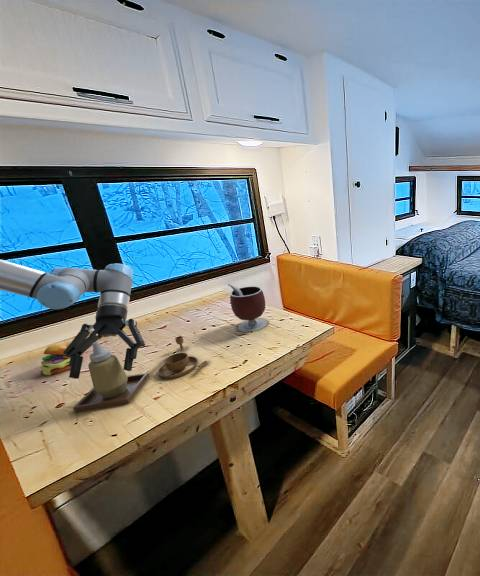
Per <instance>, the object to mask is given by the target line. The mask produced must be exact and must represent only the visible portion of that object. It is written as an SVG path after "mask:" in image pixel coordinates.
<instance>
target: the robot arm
mask: <svg viewBox="0 0 480 576" xmlns="http://www.w3.org/2000/svg"><path fill="white" fill-rule="evenodd" d="M133 279H134V270H133V268H131V267H130V266H129V265H126V264H123V263H110V264H108V265H106V266H105V268H104V269H91V268H90V269H89V268H75V267H70V266H69V267H67V266H66V267H54V268H52V269H50V272H49V273H48V272H45V271H41V270H38V269H36V268H31V267H29V266H25V265H21V264H18V263H15V262H11V261H9V260H8V261H7V260H5V259H1V258H0V291H3V292H8V293H12V294H16V295H20V296H24V297H27V298H31V299H34V300H37V302H38V303H39V304H40V305H41V306H43V307H44V308H47V309H51V310H61V309H66V308H68V307H70V306H71V305H73V304H75V303H76V302H77V301H78V300H79V299H80V298H81V296H82V295H84V294H85V293H96V294H97V293H100V294H99V298H98V302H97V308H96V313H95V317H94V319H95V322H94V324H87V323H83V324H82V325H81V327H80V330H79V331H78V333H76V335H75V336H74V338H73V339H72V341H71V342H70V343H68V344H69V346H68V347H67V348H66V349H65V351H64V352H63V354H66V355H69V356H71V357H70V362H69V367H71V369H69V370H70V371H69V374H68V378H71V379H74V380H77V379H80V374H81V371H82V370H81V369H82V365H83V360H84V356H82V355H83V354H84V353H85V352H86V351H87V350H88V349H90V348H91V347H93V343H94V342H98V341H99V340H101V339H102V338H109V337H116V336H119V338H120V339H122V341H123V342H124V343H125V344H126V345H128V347H126V350H125V357H124V362H123V363H124V364H123V370H124V371H125V372H126V371H127V372H132V370H133V362H134V360H136V358H137V356H138V349H140V348H144V347H145V346H146V342H145V341H144V338H143V337H142V335H141V332H140V330H139V328H138V321H137V320H135V319H133V318H129V319H128V320H127V317H128V309H129V305H130V299H131V292H132V287H133V282H134V281H133ZM125 327H128V329H129V331H130V333H131V335H132V337H133V339H134V340H133V339H132V338H130V336H129V335H128V334H127V333H126V331H124V329H125Z"/></svg>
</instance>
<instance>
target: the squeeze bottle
mask: <svg viewBox="0 0 480 576" xmlns="http://www.w3.org/2000/svg"><path fill="white" fill-rule="evenodd" d="M89 359H90V362H89V363H88V365H87V368H88V371H89V374H90V375H89V376H90V379H91V383H92V388H93V387H94V390H95V391H96V392H98V393H99V394H100V395H101V396H102V397H104V398H112V397H116V396H118V395H120V394H122V393H123V392H125V390H126V389H127V379H128V377H127V376H128V375H127V373H126V370H123V369H124V367H123V366H122V364H121V362H120V361H119V358H118V357H117V356H116V355H115V354H112V353H111V350H110V349H106V348H105V349H104V348H103V347H102V345H101V344H100V343H99V341H96V342H94V343H93V345H92V353H91V354H90V355H89Z"/></svg>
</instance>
